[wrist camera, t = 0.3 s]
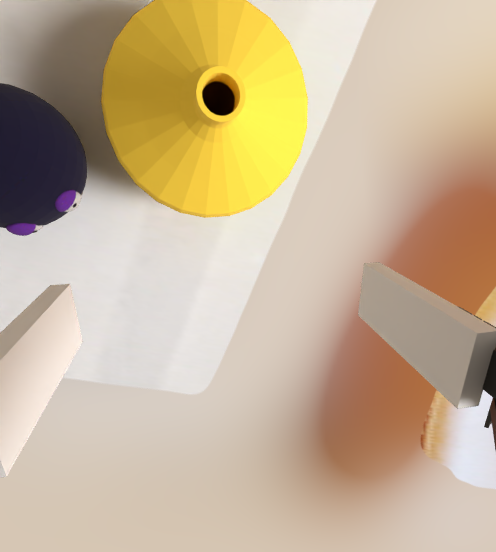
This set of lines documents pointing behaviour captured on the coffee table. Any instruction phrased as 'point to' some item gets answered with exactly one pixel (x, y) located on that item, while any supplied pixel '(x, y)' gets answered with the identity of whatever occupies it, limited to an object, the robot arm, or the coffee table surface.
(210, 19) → the vase
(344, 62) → the coffee table surface
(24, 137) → the toy
